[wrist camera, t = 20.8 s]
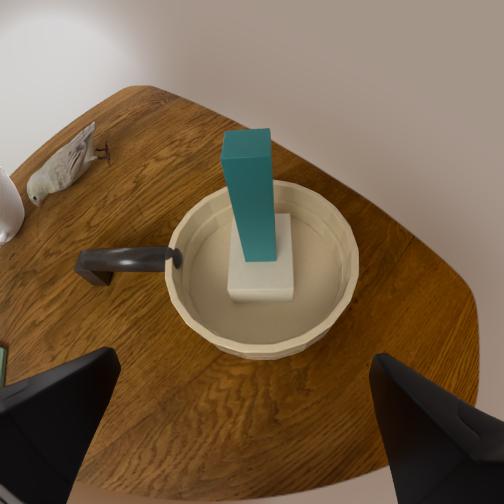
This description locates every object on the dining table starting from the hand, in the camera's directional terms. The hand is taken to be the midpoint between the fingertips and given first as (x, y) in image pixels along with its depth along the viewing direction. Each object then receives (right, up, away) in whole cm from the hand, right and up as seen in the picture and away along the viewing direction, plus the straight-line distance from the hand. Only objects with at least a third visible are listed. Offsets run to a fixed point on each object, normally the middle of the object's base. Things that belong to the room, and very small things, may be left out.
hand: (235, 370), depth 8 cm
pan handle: (-10, +1, +18) cm, 21 cm away
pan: (+2, +2, +16) cm, 17 cm away
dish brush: (+2, +3, +16) cm, 17 cm away
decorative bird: (-28, +15, +27) cm, 42 cm away
